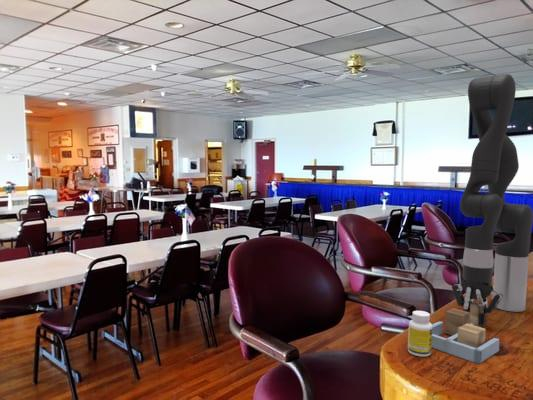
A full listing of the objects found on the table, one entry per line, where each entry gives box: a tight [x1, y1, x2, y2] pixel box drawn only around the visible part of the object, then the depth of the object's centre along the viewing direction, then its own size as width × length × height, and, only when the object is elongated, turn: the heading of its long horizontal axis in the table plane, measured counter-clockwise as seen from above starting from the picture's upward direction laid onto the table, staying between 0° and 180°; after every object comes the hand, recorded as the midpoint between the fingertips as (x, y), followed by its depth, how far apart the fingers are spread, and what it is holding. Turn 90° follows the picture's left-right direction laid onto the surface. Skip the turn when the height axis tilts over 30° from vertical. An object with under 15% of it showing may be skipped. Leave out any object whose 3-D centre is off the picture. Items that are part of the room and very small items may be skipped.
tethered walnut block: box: [444, 301, 480, 336], centre depth 120 cm, size 14×5×6 cm, turn 130°
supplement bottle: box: [407, 310, 433, 358], centre depth 105 cm, size 5×5×10 cm
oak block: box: [457, 324, 487, 348], centre depth 106 cm, size 5×5×6 cm
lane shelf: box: [431, 321, 500, 365], centre depth 109 cm, size 11×16×3 cm
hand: (474, 323), depth 124 cm, fingers closed on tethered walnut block, 3 cm apart
